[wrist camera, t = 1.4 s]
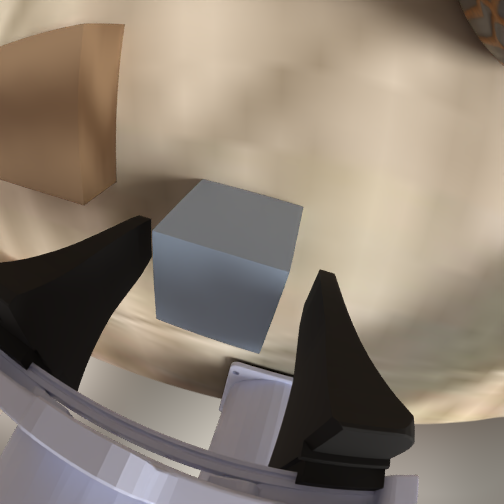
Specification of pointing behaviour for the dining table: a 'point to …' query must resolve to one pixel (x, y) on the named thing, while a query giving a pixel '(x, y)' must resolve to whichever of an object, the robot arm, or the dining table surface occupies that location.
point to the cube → (224, 262)
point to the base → (61, 110)
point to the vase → (487, 23)
